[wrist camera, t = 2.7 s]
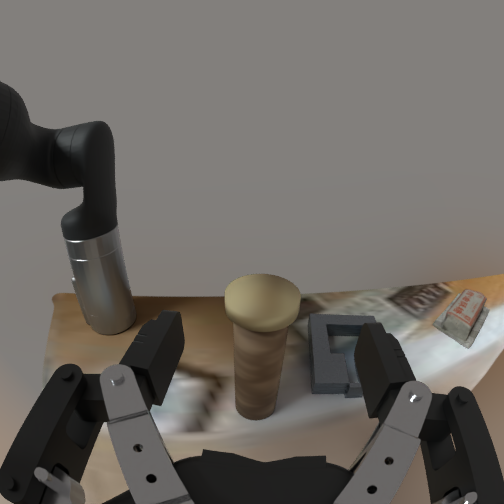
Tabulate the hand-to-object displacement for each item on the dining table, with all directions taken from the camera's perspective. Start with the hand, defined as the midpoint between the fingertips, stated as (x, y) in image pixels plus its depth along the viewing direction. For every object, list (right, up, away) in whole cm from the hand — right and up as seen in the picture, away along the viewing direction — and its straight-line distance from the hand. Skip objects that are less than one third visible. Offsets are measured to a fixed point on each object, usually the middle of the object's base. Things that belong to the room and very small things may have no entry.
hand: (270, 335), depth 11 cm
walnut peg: (0, -16, +19) cm, 25 cm away
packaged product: (+44, -11, +32) cm, 56 cm away
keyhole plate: (+14, -13, +26) cm, 32 cm away
